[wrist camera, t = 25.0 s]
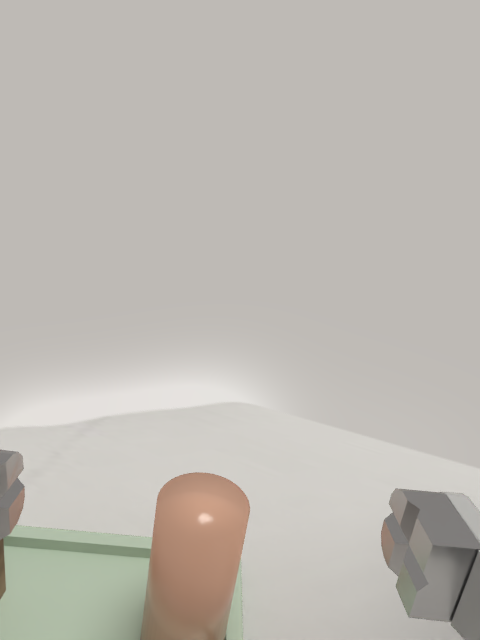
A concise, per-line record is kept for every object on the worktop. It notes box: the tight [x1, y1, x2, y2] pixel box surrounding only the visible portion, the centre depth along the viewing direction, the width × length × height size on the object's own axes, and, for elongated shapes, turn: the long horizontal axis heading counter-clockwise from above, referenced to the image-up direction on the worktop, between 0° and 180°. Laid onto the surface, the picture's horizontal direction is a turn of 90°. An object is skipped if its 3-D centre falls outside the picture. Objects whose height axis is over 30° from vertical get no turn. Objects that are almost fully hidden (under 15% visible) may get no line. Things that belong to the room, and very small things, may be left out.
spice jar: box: [140, 473, 250, 640], centre depth 23 cm, size 5×5×10 cm
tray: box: [0, 525, 243, 640], centre depth 24 cm, size 21×13×2 cm, turn 91°
